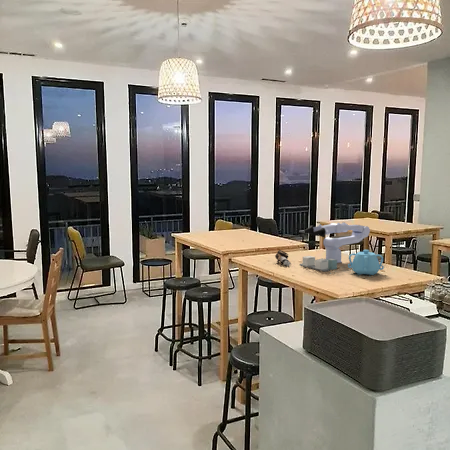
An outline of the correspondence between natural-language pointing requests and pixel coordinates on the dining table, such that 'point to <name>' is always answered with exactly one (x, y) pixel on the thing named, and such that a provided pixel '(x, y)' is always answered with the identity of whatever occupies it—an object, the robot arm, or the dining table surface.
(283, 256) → the figurine
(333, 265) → the block
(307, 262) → the mounted module
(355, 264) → the decorative pot
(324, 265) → the block
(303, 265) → the rail
